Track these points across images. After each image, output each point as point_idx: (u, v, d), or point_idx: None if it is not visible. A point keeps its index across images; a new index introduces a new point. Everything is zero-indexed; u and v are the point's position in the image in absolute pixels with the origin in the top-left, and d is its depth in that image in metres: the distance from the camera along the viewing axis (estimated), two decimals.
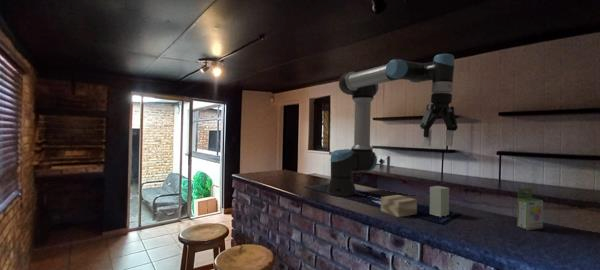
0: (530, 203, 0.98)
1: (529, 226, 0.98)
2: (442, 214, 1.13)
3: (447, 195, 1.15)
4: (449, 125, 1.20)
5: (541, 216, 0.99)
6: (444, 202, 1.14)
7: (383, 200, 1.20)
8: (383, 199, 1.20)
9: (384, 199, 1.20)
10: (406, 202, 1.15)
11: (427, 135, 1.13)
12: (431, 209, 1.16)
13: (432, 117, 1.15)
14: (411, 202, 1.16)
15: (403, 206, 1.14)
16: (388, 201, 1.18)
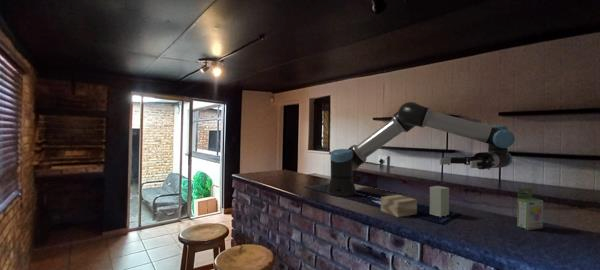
0: (530, 203, 0.98)
1: (529, 226, 0.98)
2: (442, 214, 1.13)
3: (447, 195, 1.15)
4: (455, 161, 1.29)
5: (541, 216, 0.99)
6: (444, 202, 1.14)
7: (383, 200, 1.21)
8: (383, 199, 1.20)
9: (384, 199, 1.20)
10: (406, 202, 1.15)
11: (479, 166, 1.15)
12: (431, 209, 1.16)
13: None
14: (411, 202, 1.16)
15: (402, 206, 1.14)
16: (388, 201, 1.18)
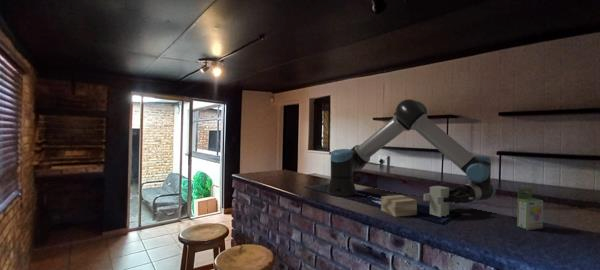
0: (530, 203, 0.98)
1: (529, 226, 0.98)
2: (442, 214, 1.13)
3: None
4: None
5: (541, 216, 0.99)
6: None
7: (383, 200, 1.21)
8: (383, 198, 1.21)
9: (384, 198, 1.21)
10: (404, 202, 1.14)
11: None
12: (431, 209, 1.17)
13: None
14: (410, 202, 1.15)
15: (400, 206, 1.14)
16: (387, 201, 1.19)
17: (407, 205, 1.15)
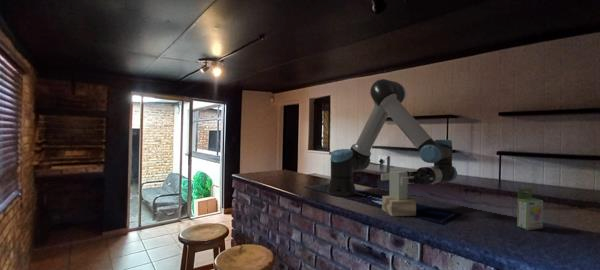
0: (530, 203, 0.98)
1: (529, 226, 0.98)
2: (400, 197, 1.17)
3: None
4: None
5: (541, 216, 0.99)
6: (402, 185, 1.17)
7: (383, 199, 1.22)
8: (383, 198, 1.22)
9: (384, 198, 1.22)
10: (401, 202, 1.14)
11: (410, 182, 1.14)
12: (390, 193, 1.20)
13: (420, 179, 1.19)
14: (408, 203, 1.15)
15: (397, 205, 1.14)
16: (386, 200, 1.20)
17: (405, 205, 1.15)
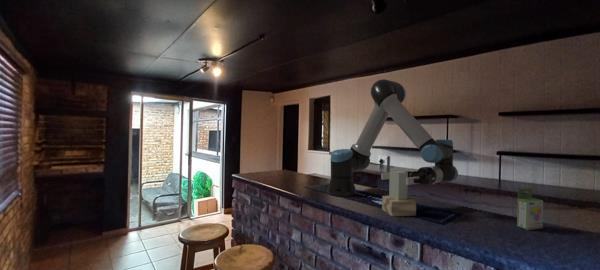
0: (530, 203, 0.98)
1: (529, 226, 0.98)
2: (400, 197, 1.17)
3: (405, 179, 1.18)
4: None
5: (541, 216, 0.99)
6: (402, 185, 1.17)
7: (383, 199, 1.22)
8: (383, 198, 1.22)
9: (384, 198, 1.22)
10: (401, 202, 1.14)
11: (416, 182, 1.13)
12: (390, 193, 1.20)
13: None
14: (408, 203, 1.15)
15: (397, 206, 1.14)
16: (386, 200, 1.20)
17: (405, 205, 1.15)
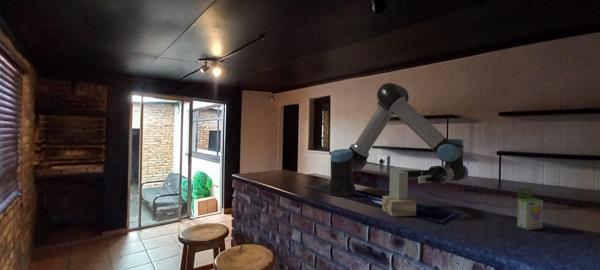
0: (530, 203, 0.98)
1: (529, 226, 0.98)
2: (400, 197, 1.17)
3: (406, 179, 1.18)
4: (409, 175, 1.29)
5: (541, 216, 0.99)
6: (403, 185, 1.17)
7: (383, 199, 1.22)
8: (383, 198, 1.22)
9: (384, 198, 1.22)
10: (401, 202, 1.14)
11: None
12: (390, 193, 1.20)
13: None
14: (408, 203, 1.15)
15: (397, 206, 1.14)
16: (386, 200, 1.19)
17: (405, 205, 1.14)
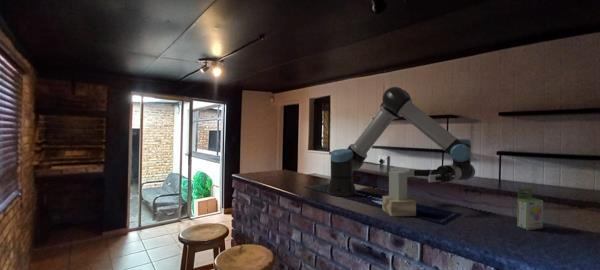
0: (530, 203, 0.98)
1: (529, 226, 0.98)
2: (400, 197, 1.17)
3: (405, 179, 1.18)
4: (418, 174, 1.33)
5: (541, 216, 0.99)
6: (402, 185, 1.17)
7: (383, 199, 1.22)
8: (383, 198, 1.22)
9: (384, 198, 1.22)
10: (401, 202, 1.14)
11: (437, 180, 1.19)
12: (390, 193, 1.20)
13: None
14: (408, 203, 1.14)
15: (397, 206, 1.14)
16: (386, 200, 1.19)
17: (405, 205, 1.14)
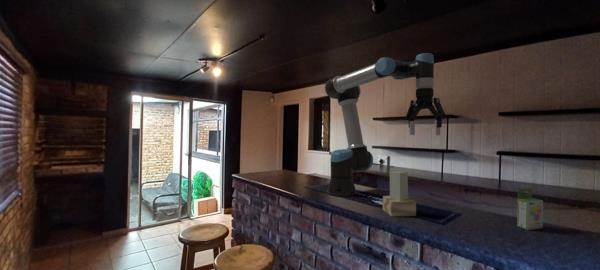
0: (530, 203, 0.98)
1: (529, 226, 0.98)
2: (401, 198, 1.16)
3: (406, 179, 1.18)
4: (414, 116, 1.37)
5: (541, 216, 0.99)
6: (403, 186, 1.17)
7: (384, 199, 1.22)
8: (384, 198, 1.22)
9: (384, 198, 1.22)
10: (401, 202, 1.14)
11: None
12: (391, 194, 1.19)
13: (434, 109, 1.27)
14: (408, 203, 1.14)
15: (397, 206, 1.14)
16: (386, 200, 1.19)
17: (405, 206, 1.14)
